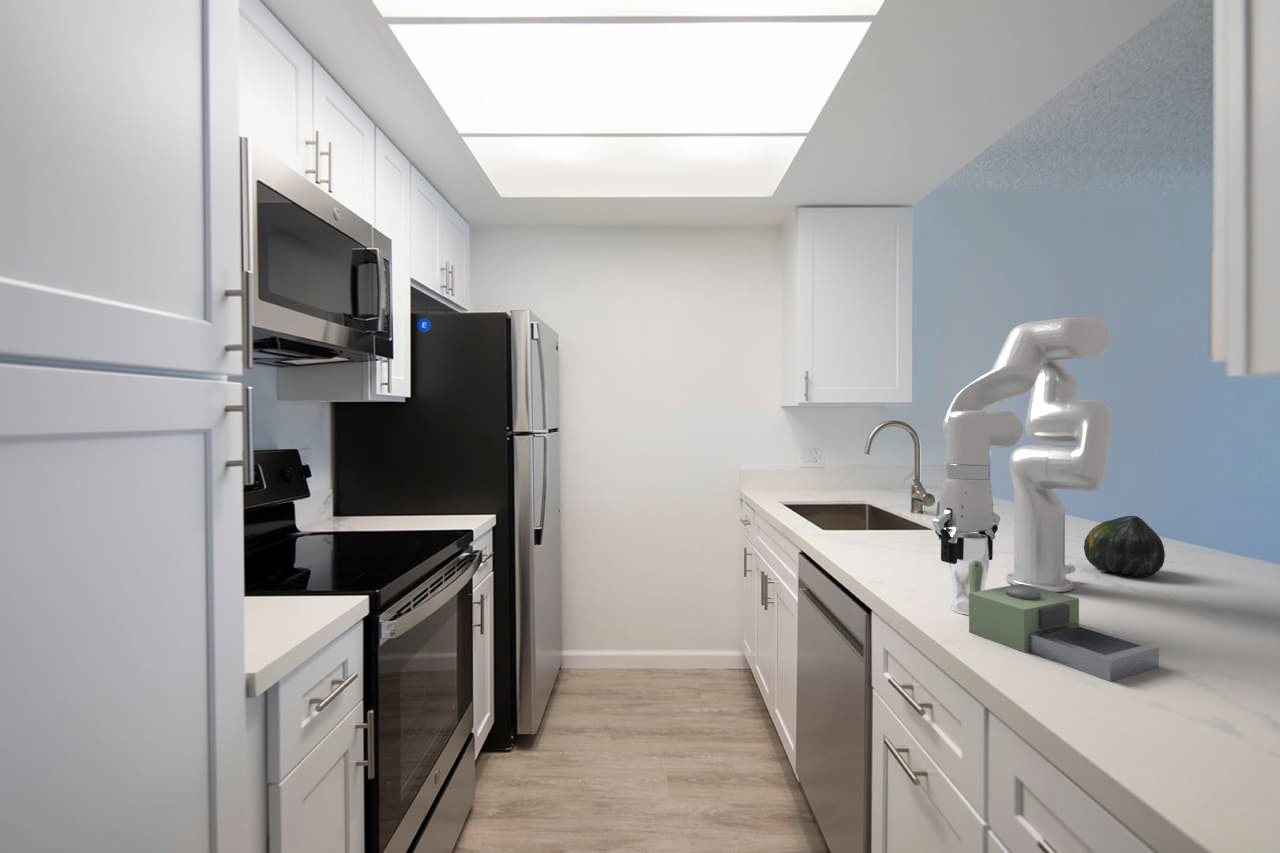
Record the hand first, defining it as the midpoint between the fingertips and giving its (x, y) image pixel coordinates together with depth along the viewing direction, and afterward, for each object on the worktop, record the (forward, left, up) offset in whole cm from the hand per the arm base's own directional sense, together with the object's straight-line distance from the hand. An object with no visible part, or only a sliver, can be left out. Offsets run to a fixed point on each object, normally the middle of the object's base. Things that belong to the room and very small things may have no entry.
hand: (966, 560), depth 117 cm
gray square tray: (+2, +24, -10) cm, 26 cm away
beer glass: (-1, 0, -10) cm, 10 cm away
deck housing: (+2, +13, -10) cm, 16 cm away
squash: (-59, -4, -10) cm, 60 cm away
